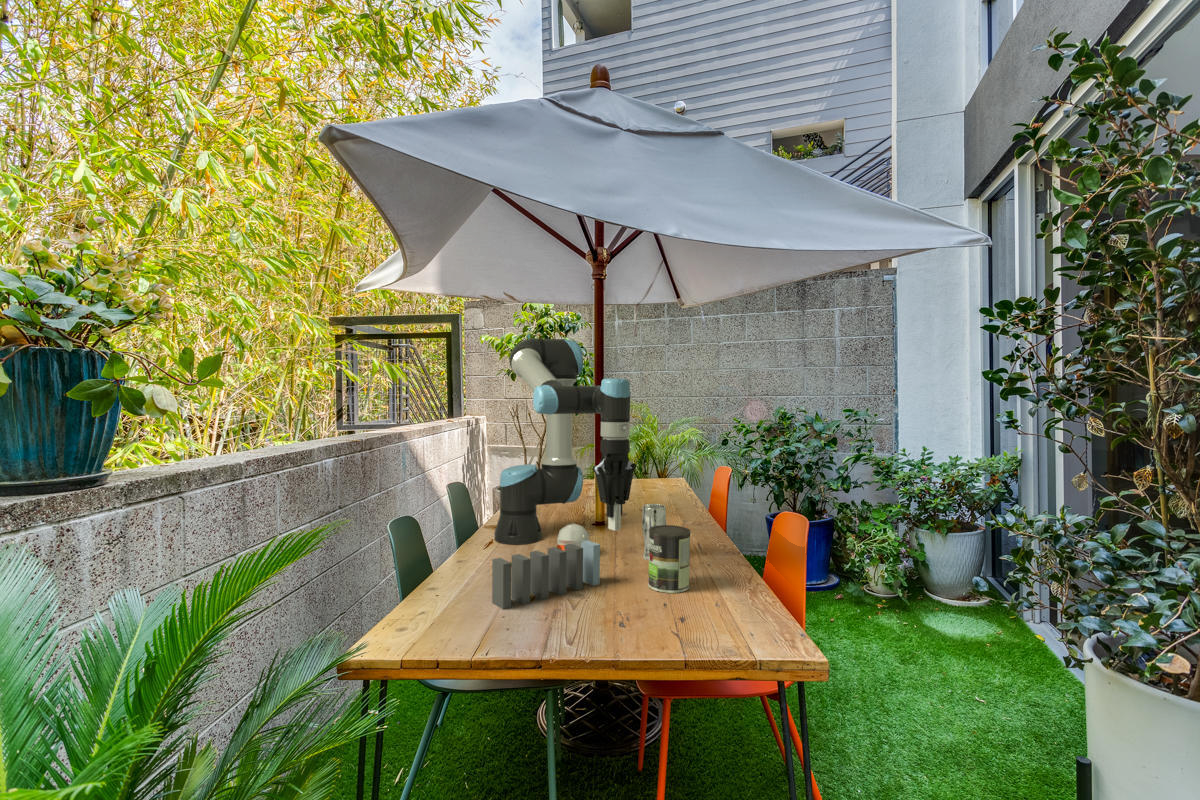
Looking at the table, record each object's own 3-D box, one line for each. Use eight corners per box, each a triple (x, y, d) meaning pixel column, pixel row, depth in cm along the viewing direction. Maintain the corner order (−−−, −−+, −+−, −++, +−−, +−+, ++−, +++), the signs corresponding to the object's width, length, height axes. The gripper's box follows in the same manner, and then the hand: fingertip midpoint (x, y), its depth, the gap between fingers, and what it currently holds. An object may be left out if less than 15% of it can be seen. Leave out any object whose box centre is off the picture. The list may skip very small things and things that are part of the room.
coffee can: (659, 595, 140) (659, 536, 140) (641, 582, 150) (641, 526, 149) (697, 590, 143) (698, 533, 143) (677, 577, 153) (678, 523, 153)
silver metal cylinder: (665, 554, 174) (666, 504, 174) (665, 561, 167) (666, 508, 167) (641, 554, 175) (642, 503, 174) (641, 560, 168) (641, 508, 167)
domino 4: (559, 595, 140) (559, 552, 140) (547, 589, 144) (547, 548, 144) (566, 593, 141) (566, 551, 141) (554, 587, 145) (554, 546, 145)
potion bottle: (581, 555, 178) (570, 577, 163) (555, 536, 178) (541, 555, 164) (598, 532, 176) (588, 552, 161) (572, 512, 176) (560, 530, 162)
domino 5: (576, 590, 143) (576, 549, 143) (564, 585, 147) (564, 544, 147) (582, 588, 144) (583, 548, 144) (570, 583, 148) (571, 543, 148)
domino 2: (522, 604, 134) (523, 560, 133) (511, 598, 138) (511, 555, 137) (530, 602, 135) (530, 558, 135) (518, 596, 139) (519, 553, 139)
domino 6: (587, 579, 151) (587, 540, 151) (599, 584, 148) (600, 544, 147) (581, 580, 150) (581, 541, 150) (593, 586, 146) (593, 545, 146)
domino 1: (503, 609, 130) (503, 564, 130) (492, 602, 134) (492, 559, 134) (511, 607, 132) (511, 562, 132) (499, 601, 136) (500, 557, 135)
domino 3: (541, 599, 137) (541, 556, 137) (529, 593, 141) (530, 551, 140) (548, 597, 138) (548, 555, 138) (536, 591, 142) (537, 550, 142)
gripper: (604, 440, 146) (603, 535, 146) (644, 438, 154) (643, 528, 155) (585, 438, 152) (585, 530, 152) (625, 436, 160) (624, 522, 161)
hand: (614, 529), depth 153 cm, fingers closed
